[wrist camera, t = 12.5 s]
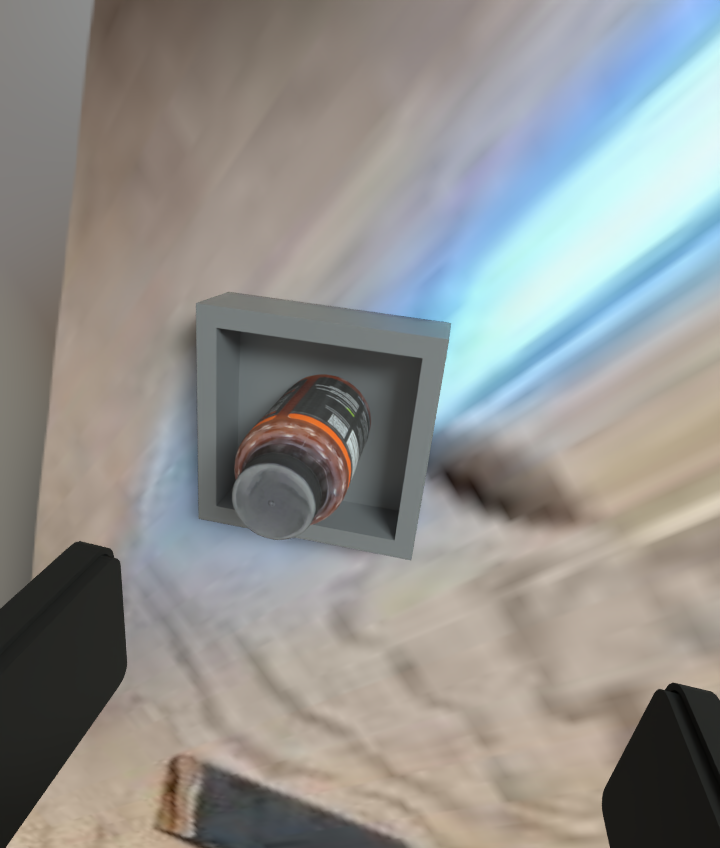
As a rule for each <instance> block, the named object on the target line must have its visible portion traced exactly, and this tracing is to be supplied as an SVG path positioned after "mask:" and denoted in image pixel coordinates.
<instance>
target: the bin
mask: <svg viewBox="0 0 720 848" xmlns="http://www.w3.org/2000/svg"><path fill="white" fill-rule="evenodd" d="M450 327H451V323H447V322H440V321H432V320H425V319H418V318H411V317H404V316H397V315H389V314H382V313H375V312H368V311H361V310H354V309H346V308H339V307H332V306H325V305H318V304H311V303H303V302H296V301H289V300H282V299H275V298H268V297H260V296H253V295H246V294H239V293H232V292H227V293H224V294H221V295H218V296H216V297H213V298H210V299H207V300H204V301H201V302H198V303H196V348H197V427H198V506H199V519H203V520H208V521H213V522H218V523H223V524H228V525H234V526H239V527H244V528H248V527H246V526H245V525H244V524H243V522H242V521H241V520H240V519H239V517H238V516H237V514H236V512H235V509H234V507H233V502H232V489H233V486H234V483H235V481H236V479H235V468H234V466H235V458H236V454H237V451H238V448H239V446H240V444H241V443H242V441H243V439H244V438H245V437H246V435H247V434H248V433H249V432H250V431H251V430H252V428H253V427H254V426H255V425H256V424H257V423H258V422H259V421H260V420H261V419H262V417H263V416H264V415H265V414H266V413H267V412H268V411H269V410H270V409H271V408H272V407H273V406H274V404H275V403H276V402H277V401H278V400H279V399H280V398H281V397H282V396H283V395H284V394H285V393H286V392H287V391H288V389H290V388H291V387H292V386H293V385H294V384H296V383H297V382H298V381H300V380H301V379H303V378H306V377H308V376H312V375H320V374H327V375H333V376H337V377H340V378H342V379H344V380H346V381H348V382H349V383H351V384H352V385H354V386H355V387H356V388H357V389H358V390H359V391H360V392H361V394H362V395H363V397H364V398H365V400H366V402H367V403H368V406H369V409H370V415H371V428H370V432H369V436H368V439H367V442H366V444H365V447H364V449H363V452H362V454H361V457H360V459H359V462H358V464H357V467H356V469H355V472H354V475H353V477H352V480H351V482H350V485H349V487H348V489H347V492H346V494H345V497H344V499H343V500H342V502H341V503H340V505H339V507H338V508H337V509H336V510H335V511H334V512H333V513H332V514H331V515H330V516H329V517H327V518H325V519H324V520H322V521H320V522H318V523H316V524H313V525H310V526H309V527H308V528H307V529H306V530H305V531H304V532H303V533H301V534H300V535H298V536H296V537H295V538H300V539H305V540H310V541H315V542H320V543H325V544H330V545H335V546H341V547H346V548H351V549H356V550H361V551H366V552H371V553H376V554H381V555H386V556H392V557H397V558H402V559H407V560H411V559H412V553H413V547H414V541H415V536H416V530H417V524H418V518H419V512H420V506H421V501H422V495H423V489H424V483H425V477H426V471H427V465H428V460H429V454H430V448H431V442H432V436H433V430H434V425H435V419H436V413H437V407H438V401H439V395H440V390H441V384H442V378H443V372H444V366H445V360H446V354H447V349H448V343H449V336H450Z"/></svg>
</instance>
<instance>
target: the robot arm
mask: <svg viewBox="0 0 720 848" xmlns="http://www.w3.org/2000/svg"><path fill="white" fill-rule="evenodd" d="M126 668H127V654H126V639H125V625H124V610H123V595H122V580H121V565H120V561H119V560H118V559H116V558H114V555H113V551H112V550H111V549H110V548H106V547H102V546H98V545H94V544H89V543H85V542H81V541H79V542H75V543H74V544H72V545H71V546H70V547H69V548H68V549H66V550H65V551H64V552H63V553H62V554H61V555H60V556H59V557H57V558H56V559H55V560H54V561H53V562H52V563H51V564H50V565H49V566H47V567H46V568H45V569H44V570H43V571H42V572H41V573H40V574H39V575H37V576H36V577H35V578H34V579H33V580H32V581H31V582H30V583H29V584H27V585H26V586H25V587H24V588H23V589H22V590H21V591H20V592H19V593H17V594H16V595H15V596H14V597H13V598H12V599H11V600H10V601H8V602H7V603H6V604H5V605H4V606H3V607H2V608H1V609H0V848H6V846H7V845H8V843H9V842H10V841H11V839H12V838H13V836H14V835H15V833H16V832H17V831H18V829H19V828H20V826H21V825H22V824H23V822H24V821H25V819H26V818H27V816H28V815H29V814H30V812H31V811H32V809H33V808H34V806H35V805H36V804H37V802H38V801H39V799H40V798H41V796H42V795H43V794H44V792H45V791H46V789H47V788H48V786H49V785H50V784H51V782H52V781H53V779H54V778H55V777H56V775H57V774H58V772H59V771H60V769H61V768H62V767H63V765H64V764H65V762H66V761H67V759H68V758H69V757H70V755H71V754H72V752H73V751H74V749H75V748H76V747H77V745H78V744H79V742H80V741H81V739H82V738H83V737H84V735H85V734H86V732H87V731H88V729H89V728H90V727H91V725H92V724H93V722H94V721H95V720H96V718H97V717H98V715H99V714H100V712H101V711H102V710H103V708H104V707H105V705H106V704H107V702H108V701H109V700H110V698H111V697H112V695H113V694H114V692H115V691H116V690H117V688H118V687H119V685H120V684H121V682H122V680H123V678H124V675H125V672H126ZM602 811H603V817H604V822H605V827H606V831H607V836H608V840H609V845H610V848H720V700H719V699H718V697H717V696H716V695H715V694H714V693H713V692H711V691H707V690H702V689H698V688H694V687H690V686H686V685H681V684H677V683H671V684H669V685H668V686H667V688H666V689H665V690H662V689H658V690H657V691H656V692H655V693H654V695H653V697H652V699H651V701H650V703H649V704H648V706H647V708H646V710H645V712H644V714H643V716H642V718H641V720H640V722H639V724H638V725H637V727H636V729H635V731H634V733H633V735H632V737H631V739H630V741H629V743H628V745H627V746H626V748H625V750H624V752H623V754H622V756H621V758H620V760H619V762H618V764H617V766H616V767H615V769H614V771H613V773H612V775H611V777H610V779H609V781H608V783H607V785H606V787H605V789H604V792H603V797H602Z"/></svg>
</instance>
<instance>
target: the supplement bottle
mask: <svg viewBox="0 0 720 848" xmlns="http://www.w3.org/2000/svg"><path fill="white" fill-rule="evenodd" d="M370 428H371V415H370V409H369V406H368V403H367V402H366V400H365V398H364V397H363V395H362V394H361V392H360V391H359V390H358V389H357V388H356V387H355V386H354V385H352V384H351V383H349V382H348V381H346V380H344V379H342V378H340V377H337V376H333V375H327V374H320V375H312V376H308V377H306V378H303V379H301V380H300V381H298V382H297V383H296V384H294V385H293V386H292V387H291V388H290V389H288V391H287V392H286V393H285V394H284V395H283V396H282V397H281V398H280V399H279V400H278V401H277V402H276V403H275V404H274V406H273V407H272V408H271V409H270V410H269V411H268V412H267V413H266V414H265V415H264V416H263V417H262V419H261V420H260V421H259V422H258V423H257V424H256V425H255V426H254V427H253V428H252V430H251V431H250V432H249V433H248V434H247V435H246V437H245V438H244V439H243V441H242V443H241V444H240V446H239V448H238V451H237V454H236V458H235V466H234V468H235V479H236V481H235V483H234V486H233V489H232V502H233V507H234V509H235V512H236V514H237V516H238V517H239V519H240V520H241V521H242V522H243V524H244V525H245V526H246V527H248V528H249V529H250V530H251V531H253V532H254V533H256V534H258V535H260V536H263V537H266V538H270V539H275V540H284V539H289V538H293V537H296V536H298V535H300V534H301V533H303V532H304V531H305V530H306V529H307V528H308V527H309V526H310V525H313V524H316V523H318V522H320V521H322V520H324V519H325V518H327V517H329V516H330V515H331V514H332V513H333V512H334V511H335V510H336V509H337V508H338V507H339V505H340V503H341V502H342V500H343V499H344V497H345V494H346V492H347V489H348V487H349V485H350V482H351V480H352V477H353V475H354V472H355V469H356V467H357V464H358V462H359V459H360V457H361V454H362V452H363V449H364V447H365V444H366V442H367V439H368V436H369V432H370Z"/></svg>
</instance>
